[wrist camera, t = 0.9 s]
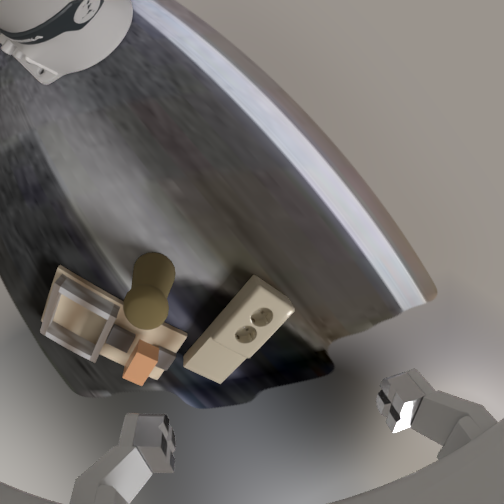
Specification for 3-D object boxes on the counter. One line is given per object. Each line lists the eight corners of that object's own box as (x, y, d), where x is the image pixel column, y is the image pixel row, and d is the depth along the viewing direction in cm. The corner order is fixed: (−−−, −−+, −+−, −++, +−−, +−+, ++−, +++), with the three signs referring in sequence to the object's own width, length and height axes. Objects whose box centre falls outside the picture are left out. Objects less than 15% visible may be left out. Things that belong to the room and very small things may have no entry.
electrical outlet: (183, 370, 42) (259, 285, 39) (183, 354, 46) (253, 272, 43) (221, 387, 45) (296, 310, 42) (218, 371, 49) (288, 297, 46)
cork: (158, 244, 38) (148, 280, 28) (183, 278, 41) (182, 322, 31) (124, 266, 39) (105, 308, 28) (150, 299, 41) (140, 346, 31)
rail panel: (43, 317, 38) (34, 331, 35) (60, 264, 36) (49, 276, 33) (157, 376, 46) (156, 392, 42) (187, 333, 44) (187, 349, 40)
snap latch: (125, 364, 40) (122, 377, 38) (139, 339, 39) (137, 352, 36) (143, 372, 41) (141, 386, 39) (159, 348, 40) (157, 361, 38)
